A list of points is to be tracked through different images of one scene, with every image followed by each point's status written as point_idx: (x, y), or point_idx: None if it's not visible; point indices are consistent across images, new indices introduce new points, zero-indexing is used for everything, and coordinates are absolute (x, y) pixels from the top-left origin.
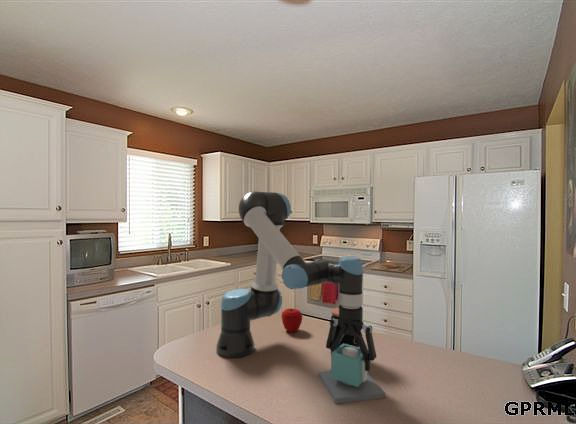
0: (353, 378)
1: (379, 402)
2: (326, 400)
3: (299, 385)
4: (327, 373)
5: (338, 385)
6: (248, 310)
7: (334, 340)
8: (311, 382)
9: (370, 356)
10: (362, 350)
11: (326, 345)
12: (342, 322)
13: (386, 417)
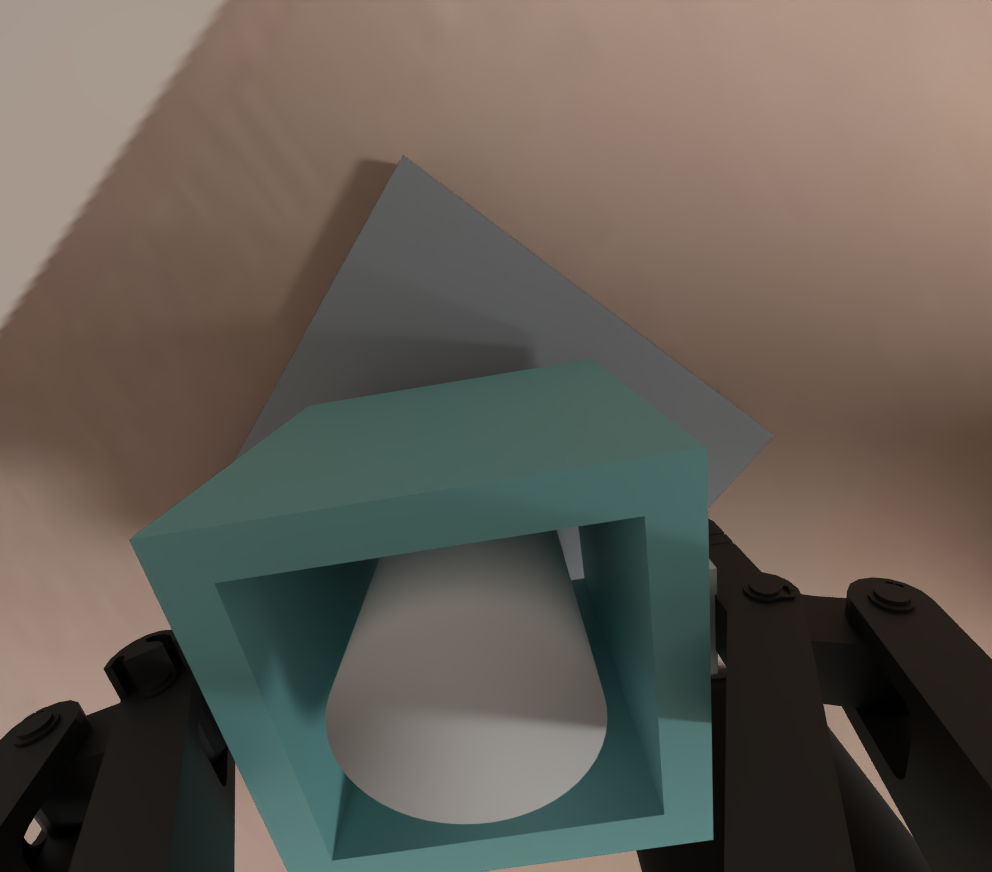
0: (335, 417)
1: (199, 444)
2: (495, 152)
3: (819, 169)
4: None
5: (511, 369)
6: None
7: (883, 855)
8: (751, 295)
9: (32, 756)
10: (133, 811)
11: (927, 607)
12: None
13: (41, 315)
